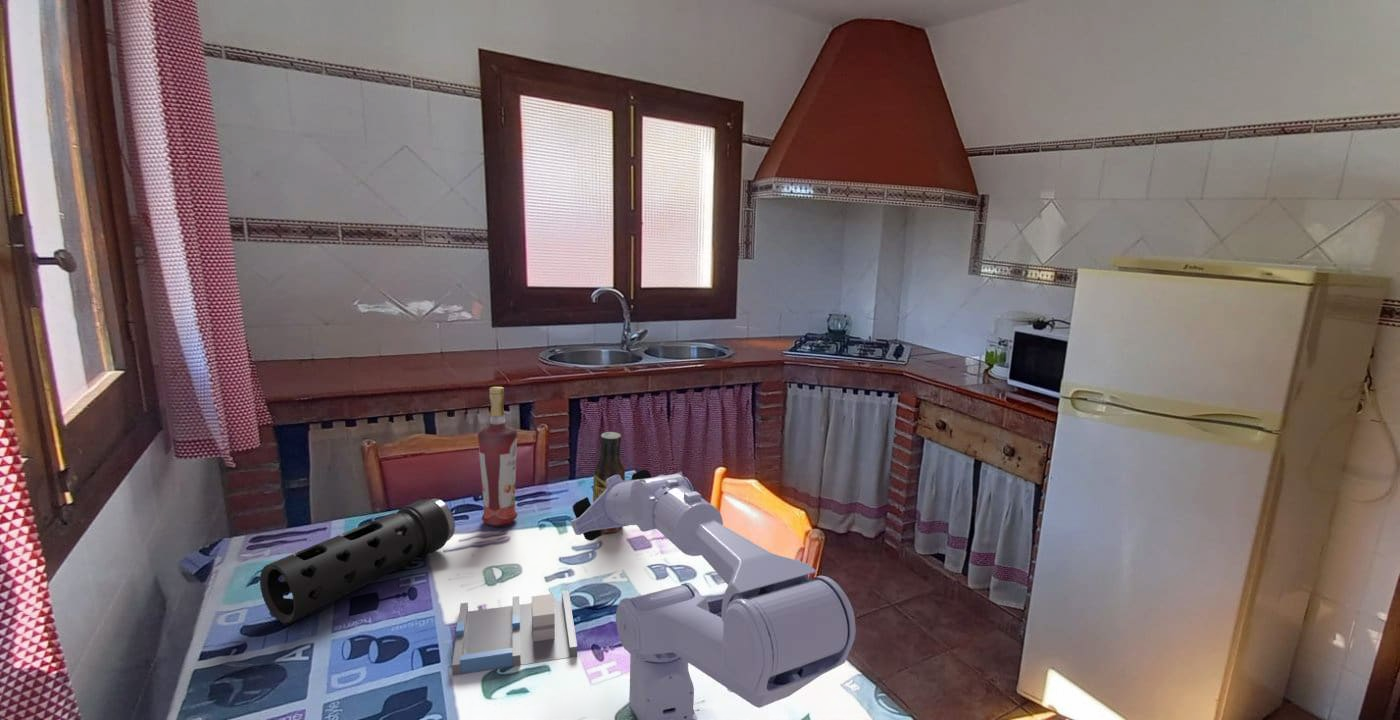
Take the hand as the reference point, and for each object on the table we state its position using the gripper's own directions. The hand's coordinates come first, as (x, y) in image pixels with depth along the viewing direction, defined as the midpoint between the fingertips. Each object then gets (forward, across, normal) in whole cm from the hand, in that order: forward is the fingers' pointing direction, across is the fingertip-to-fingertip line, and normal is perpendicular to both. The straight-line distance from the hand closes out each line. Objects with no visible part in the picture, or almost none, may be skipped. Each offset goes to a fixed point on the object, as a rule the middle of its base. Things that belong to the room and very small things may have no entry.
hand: (603, 504), depth 92 cm
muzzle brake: (+29, +32, -2) cm, 44 cm away
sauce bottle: (+32, -8, +9) cm, 34 cm away
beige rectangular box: (+6, +14, +13) cm, 20 cm away
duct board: (+7, +18, +12) cm, 22 cm away
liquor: (+42, +9, -1) cm, 43 cm away
